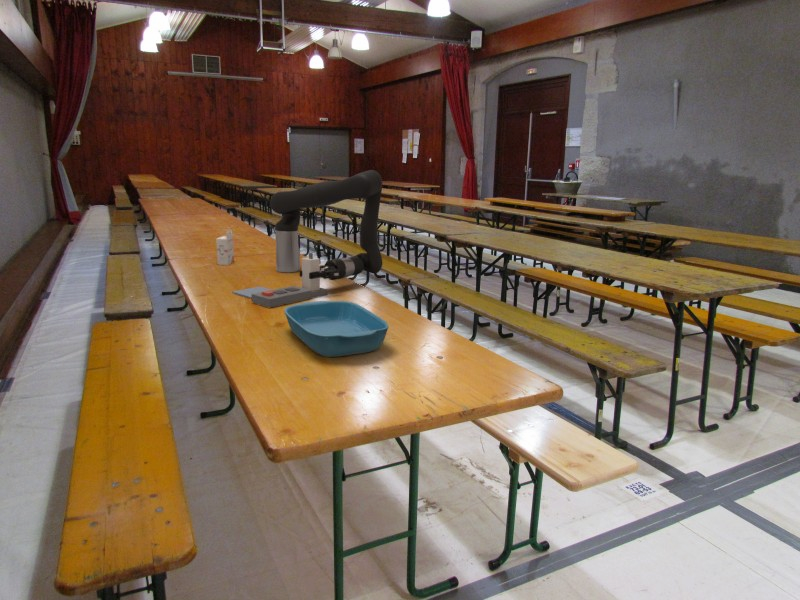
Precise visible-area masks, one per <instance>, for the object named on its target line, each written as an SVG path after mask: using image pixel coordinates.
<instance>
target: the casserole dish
mask: <svg viewBox="0 0 800 600" xmlns="http://www.w3.org/2000/svg"><path fill="white" fill-rule="evenodd" d="M284 314H285V317H286V320H287V323H288V325H289V328H290V330H291V331H292V332H293V334H294V335H296V336H297V338H299V339H300V340H301V341H302V342H303V343H304V344H305V345H306V346H308V348H310V349H311V350H312V351H313V352H315V353H316V354H318V355H321V356H323V357H326V358H327V357H328V358H335V357H336V358H337V357H344V356H352V355H359V354H365V353H371V352H375V351H376V350H377V349H379V348H380V347H381V346H382V344H383V343H384V341H385V339H386V335H387V333H388V330H389V327H390V325H389V323H388V322H387V321H386V320H384V319H383V318H381V317H380V316H378V315H377V314H375V313H373V312H372V311H370V310H368V309H367V308H365V307H364V306H363V305H360V304H359V303H355V302H352V301H349V300H347V301H346V300H316V301H305V302H300V303H298V304H292V305H289V306H286V307H284Z"/></svg>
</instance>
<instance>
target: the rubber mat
mask: <svg viewBox="0 0 800 600" xmlns="http://www.w3.org/2000/svg"><path fill="white" fill-rule="evenodd" d="M270 290H272V289H271V288H267V287H263V286H256V287H255V286H254V287H249V288H244V289H239V290H238V289H237V290H234V291H232V292H231V293H232V294H233V293H234V295H236V294H237V296H240V295H241V296H240V297H243V296H244V297H243V298H247V297H248V298H247V299H250V298H252V294H254V293H259V292H264V291H270Z"/></svg>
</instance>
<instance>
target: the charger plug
mask: <svg viewBox="0 0 800 600" xmlns="http://www.w3.org/2000/svg"><path fill="white" fill-rule="evenodd" d="M320 260H321V259H320V258H318V257H314V253H313V252H308V257H302V258H301V270H302V277H301V288H304V289H308V290H311V292H312V291H317V290H320V288H321V287H320V285H321V280H320V279H321V278H314V279H309V273H311V272H316V271H320V265H321V261H320Z"/></svg>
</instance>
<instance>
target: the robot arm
mask: <svg viewBox="0 0 800 600" xmlns="http://www.w3.org/2000/svg"><path fill="white" fill-rule="evenodd" d="M382 189H383V179H382V176H381V174H380V173H379V172H378V171H376V170H374V169H369V170H365V171H362V172H359V173H356V174H355V175H353V176H349V177H347V178H344V179H341V180H325V181H320V182H316V183H312V184H309V185H306V186H303V187H301V188H298V189H295V190H289V191H288V190H287V191H285V190H284V191H277V192H275V193H273V195H271V198H270V201H269V206H270V209H272V211H273V212H274V213H275V214H279V215H282V217H281V219H280V220H279V221H278V222H276V223H275V261H276V262H275V267H276V268H275V269H276V272H278V273H296V272H299V277H300V278H302V269H301V248H300V247H299V225H300V222H301V221H300V220H301V209H310V208H311V209H312V208H320V207H321V208H322V207H325V206H326V207H327V206H331V205H334V204H337V203H339V202H341V201H345V200H354V199H364V201H365V202H364V204H365V205H364V210H363V214H362V216H361V222H360V224H359V245H360V246H359V247H360V248H361V249H362V250H363V251H365V252H360V253H357V254H356V255H354V256H351V257H340V258H339V257H338V258H333V259H328V260H327V261H326V262H325V264H320V271H316V272H311V273H309V279H314V278H320V279H323V280H327V279H328V280H330V281H336V280H340V279H341V280H342V279H345V278H349V277H352V276H357V275H360V274H362V272H366V273H369V274H378V273H379V272H380V271H381V269H382V267H383V257H382V253H381V249H380V247H379V231H378V230H379V229H378V228H379V225H378V224H379V213H380V204H381V198H382Z"/></svg>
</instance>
